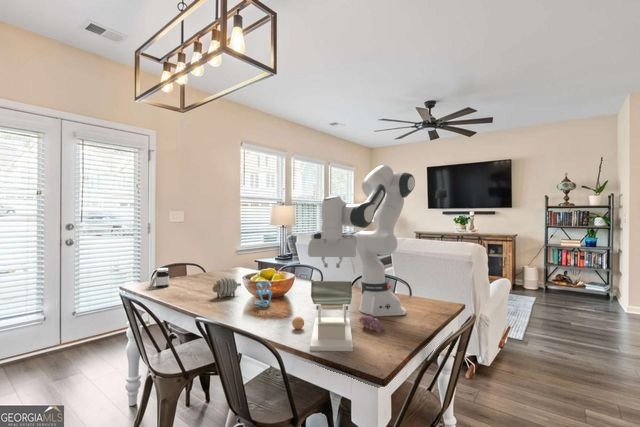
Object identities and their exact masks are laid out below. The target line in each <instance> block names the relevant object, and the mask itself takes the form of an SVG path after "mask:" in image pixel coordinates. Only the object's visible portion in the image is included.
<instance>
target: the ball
mask: <svg viewBox="0 0 640 427" xmlns="http://www.w3.org/2000/svg"><path fill="white" fill-rule="evenodd" d="M291 325H292V327H293V328H294V329H295V330H301V329H302V328H303V327H304V326H305V320H304V319H303V317H301V316H296V317H294V318H293V319H292V322H291Z"/></svg>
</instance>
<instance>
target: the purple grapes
mask: <svg viewBox="0 0 640 427" xmlns="http://www.w3.org/2000/svg"><path fill="white" fill-rule="evenodd" d="M358 321H359V322H360V324H362V325H363V326H364V327H365V329H367V330H368V329H371V330H372V331H376V330H379V331H381V332H382V331H384V330H385V325H384V324H383V323H382V322H381V321H380V320H379V319H378V318H377V317H375V316H372V315H370V314H363V315H362V316H361V317H360V318H359V320H358Z"/></svg>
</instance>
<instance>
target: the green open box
mask: <svg viewBox="0 0 640 427" xmlns="http://www.w3.org/2000/svg"><path fill="white" fill-rule="evenodd" d="M310 281H311V280H310ZM352 284H353V283H352V280H351V281H347V280H346V281H345V280H344V281H342V280H341V281H335V280H334V281H332V280H331V281H330V280H329V281H327V280H322V281H321V280H320V281H319V280H316V281H315V280H312V281H311V285H310V298H311V300H312V304H314V305H318V304H321V311H344V304H346V305H351V302H352V298H353V285H352Z"/></svg>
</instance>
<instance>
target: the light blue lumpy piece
mask: <svg viewBox="0 0 640 427" xmlns="http://www.w3.org/2000/svg"><path fill="white" fill-rule="evenodd" d="M268 285H269V289H267V288H268ZM263 286H265V287H264V289H263ZM272 286H273V285H272V284H271V282H269V281H264V280H262V281H259V282H258V283H256V290H255V294H257V295H258V296H259V297H260V300H261V301H257V302H256V301H255V302H254V303H253V304H254V306H259V307H263V308H266V307H271V299H272V295H273V291H272ZM265 295H268V300H264V298H263V296H265ZM266 304H267V305H266Z"/></svg>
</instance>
